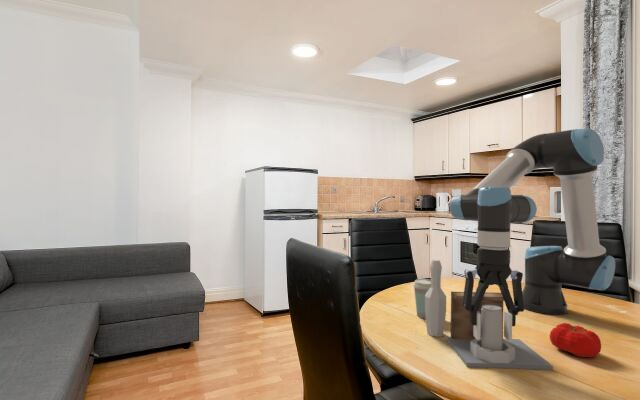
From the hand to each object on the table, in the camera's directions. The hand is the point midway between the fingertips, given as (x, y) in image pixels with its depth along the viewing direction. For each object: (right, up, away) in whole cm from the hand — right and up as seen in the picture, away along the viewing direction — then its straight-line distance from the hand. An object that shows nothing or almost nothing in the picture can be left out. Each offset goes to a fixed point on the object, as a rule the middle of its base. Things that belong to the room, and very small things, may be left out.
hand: (492, 338), depth 91 cm
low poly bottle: (-9, -5, +17) cm, 20 cm away
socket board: (+2, -5, +3) cm, 6 cm away
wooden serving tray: (0, -5, +9) cm, 10 cm away
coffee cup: (-7, -5, +32) cm, 34 cm away
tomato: (+24, -6, +5) cm, 25 cm away
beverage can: (0, -4, 0) cm, 4 cm away
